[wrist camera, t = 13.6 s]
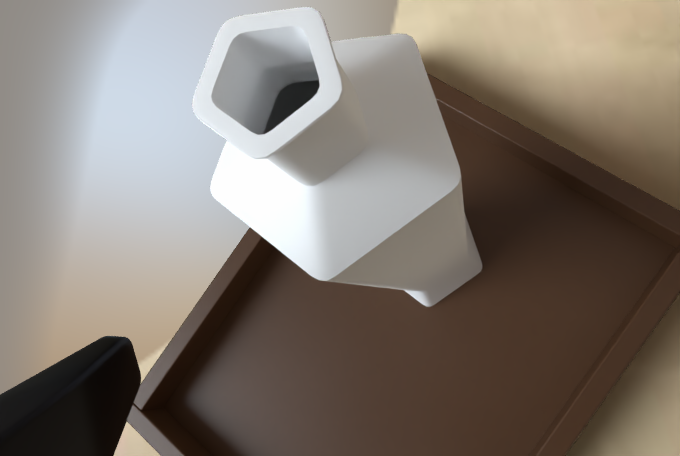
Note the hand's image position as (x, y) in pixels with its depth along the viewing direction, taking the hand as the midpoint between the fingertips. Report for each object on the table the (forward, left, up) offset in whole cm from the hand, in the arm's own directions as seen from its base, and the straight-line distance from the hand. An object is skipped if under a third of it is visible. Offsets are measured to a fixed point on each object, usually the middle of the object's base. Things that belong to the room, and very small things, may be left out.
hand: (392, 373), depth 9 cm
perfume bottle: (+3, +3, -12) cm, 13 cm away
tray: (-1, +2, -13) cm, 13 cm away
